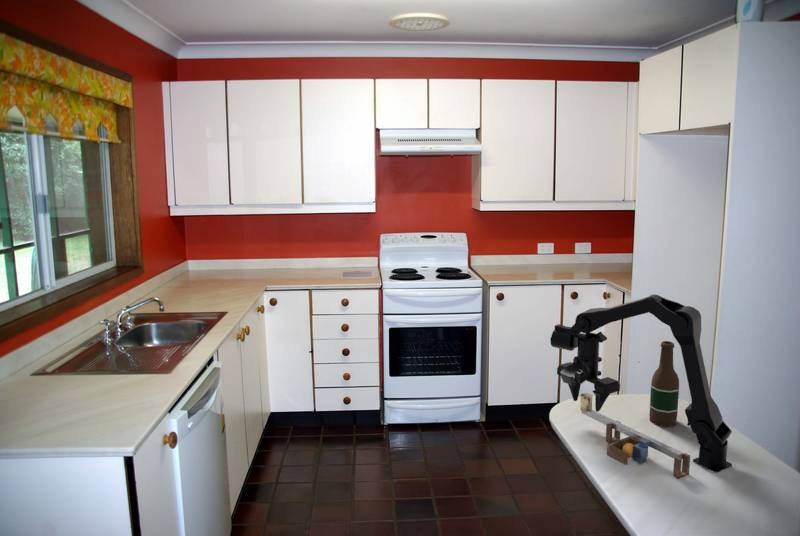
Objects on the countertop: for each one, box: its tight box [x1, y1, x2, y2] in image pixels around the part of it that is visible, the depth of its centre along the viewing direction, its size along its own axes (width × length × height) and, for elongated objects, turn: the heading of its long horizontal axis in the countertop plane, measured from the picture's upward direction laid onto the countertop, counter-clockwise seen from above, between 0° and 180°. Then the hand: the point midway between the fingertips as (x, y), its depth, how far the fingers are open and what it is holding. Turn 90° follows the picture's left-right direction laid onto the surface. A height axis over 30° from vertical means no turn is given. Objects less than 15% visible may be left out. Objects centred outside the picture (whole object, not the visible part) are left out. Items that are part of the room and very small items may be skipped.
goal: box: [606, 436, 649, 466], centre depth 153 cm, size 8×6×3 cm
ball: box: [622, 443, 633, 459], centre depth 152 cm, size 4×4×4 cm
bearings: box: [605, 420, 691, 480], centre depth 152 cm, size 4×22×5 cm, turn 29°
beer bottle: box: [649, 340, 680, 428], centre depth 169 cm, size 8×8×24 cm
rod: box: [579, 392, 684, 465], centre depth 156 cm, size 6×32×9 cm, turn 28°
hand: (586, 405), depth 169 cm, fingers open, 8 cm apart
